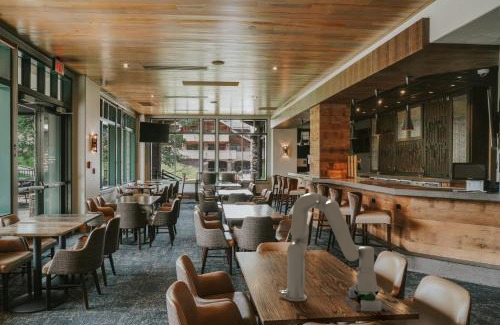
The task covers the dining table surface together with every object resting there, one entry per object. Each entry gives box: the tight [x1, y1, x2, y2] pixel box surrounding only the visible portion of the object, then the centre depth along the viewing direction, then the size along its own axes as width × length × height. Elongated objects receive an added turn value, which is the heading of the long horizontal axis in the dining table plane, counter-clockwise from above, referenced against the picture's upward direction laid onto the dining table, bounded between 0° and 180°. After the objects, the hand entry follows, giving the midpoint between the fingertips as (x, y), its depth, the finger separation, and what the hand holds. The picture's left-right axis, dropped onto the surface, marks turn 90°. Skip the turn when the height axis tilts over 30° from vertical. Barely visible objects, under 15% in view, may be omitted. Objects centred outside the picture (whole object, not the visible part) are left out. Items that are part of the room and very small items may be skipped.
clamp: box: [360, 292, 375, 304], centre depth 219 cm, size 12×6×9 cm, turn 177°
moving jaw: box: [348, 287, 357, 299], centre depth 233 cm, size 10×2×5 cm, turn 93°
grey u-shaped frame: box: [344, 296, 389, 312], centre depth 221 cm, size 17×20×5 cm
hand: (365, 302), depth 220 cm, fingers closed on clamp, 7 cm apart
